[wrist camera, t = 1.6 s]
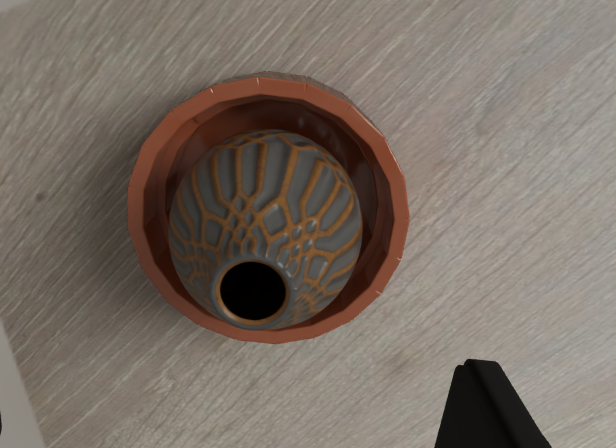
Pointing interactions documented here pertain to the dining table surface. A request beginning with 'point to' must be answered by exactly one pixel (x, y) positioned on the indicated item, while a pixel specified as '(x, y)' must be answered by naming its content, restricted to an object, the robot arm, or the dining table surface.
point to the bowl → (283, 116)
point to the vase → (265, 229)
